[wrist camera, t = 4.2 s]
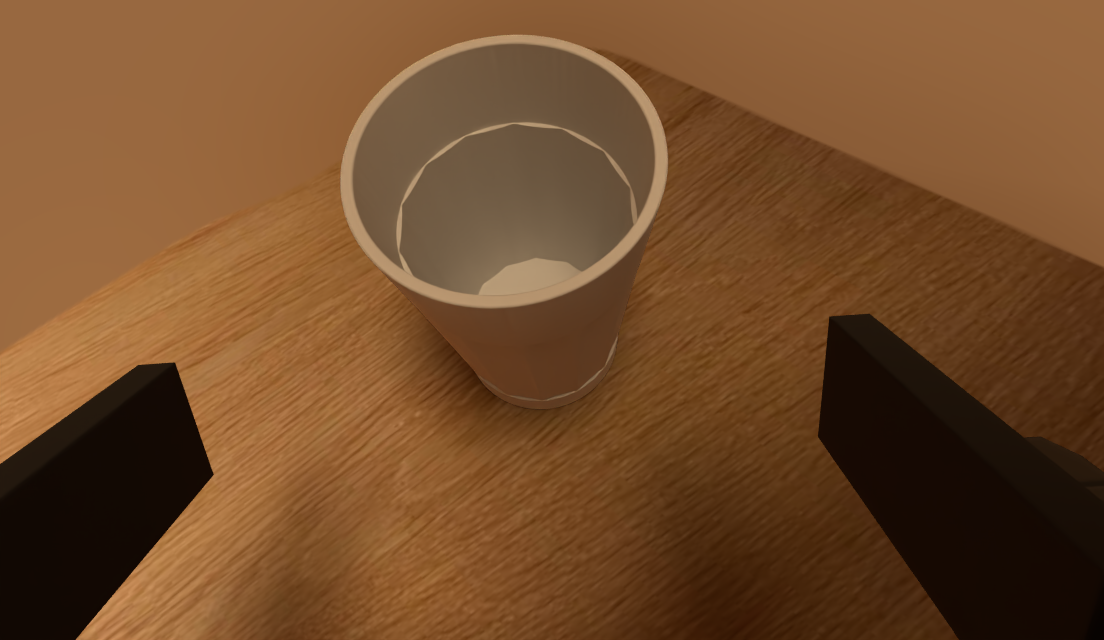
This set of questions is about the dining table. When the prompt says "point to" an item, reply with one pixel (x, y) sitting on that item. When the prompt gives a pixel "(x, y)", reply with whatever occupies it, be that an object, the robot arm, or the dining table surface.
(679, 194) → the dining table surface
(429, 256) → the cup
